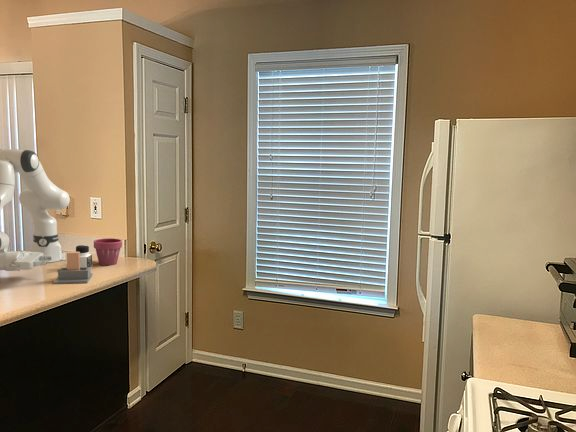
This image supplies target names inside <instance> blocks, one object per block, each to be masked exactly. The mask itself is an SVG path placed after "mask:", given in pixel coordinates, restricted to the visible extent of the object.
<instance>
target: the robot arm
mask: <svg viewBox="0 0 576 432" xmlns="http://www.w3.org/2000/svg"><path fill="white" fill-rule="evenodd" d="M15 173H18V174H19V176H20V178H21V180H22V182H23V184H24V185H25V187H26V188H27V189H23V190H21V192H20V193H19V196H18V201H19V204H20V205H21V207H23V208H24V209H25V210H27V212H28V213H29V215H30V217H31V220H32V222H33V223H32V224H33V236H32V241H33V243H31V245H30V251H25V250H17V251H16V250H15V251H13V250H12V251H9V248H10V245H11V244H10V243H11V242H10V241H11V240H10V236H9V235H8V234H7V233H6V232H3V231H0V271H5V272H15V271H18V272H19V271H20V270H22V271H26V270H27V271H29V270H32V269H34V268H35V267H41V266H46V265H47V263H55V262H58V261H59V262H60V261H65V260H67V252H63V250H62V244H61V243H60V242H59V240H60V239H59V233H58V222H57V219H56V218H55V217H53V216H52V215H50V214H49V212H48V210H53V211H55V210H56V211H57V210H63V209H67V208H68V206H69V204H70V203H71V199H70V198H71V197H70V195H69V193H68V192H67V191H65V190H63V189H62V188H60V187H58V186H57V185H56V184H54V182H52V181H51V180H50V178H49V177H48V175H47V173H46V171H45V169H44V166H43V165H42V163H41V161H40V159H39V155H38V154H37V153H36V152H35V151H33V150H30V149H29V150H28V149H19V148H18V149H17V148H15V149H14V148H10V149H8V148H7V149H0V212H1V211H2V209H3V207H4V206H5V205H7V204H9V203H10V202H11V201H12V200H13V197H14V194H15V187H16V177H15V176H16V175H15Z"/></svg>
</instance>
